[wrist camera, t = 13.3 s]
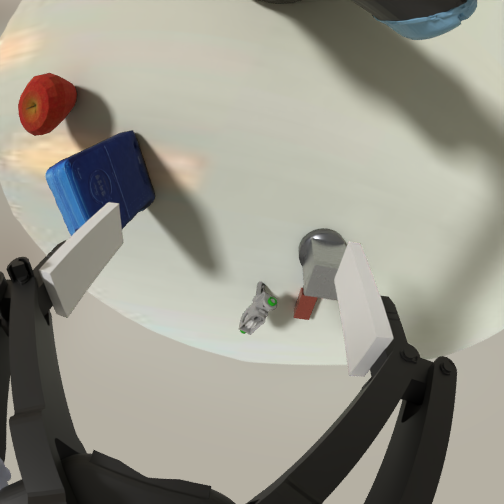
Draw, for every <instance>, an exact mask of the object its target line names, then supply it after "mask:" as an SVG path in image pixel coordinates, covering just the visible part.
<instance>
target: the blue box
mask: <svg viewBox="0 0 504 504" xmlns="http://www.w3.org/2000/svg"><path fill="white" fill-rule="evenodd" d="M46 180H47V183H48V185H49V188H50V189H51V191H52V193H53V195H54V197H55V200H56V203H57V206H58V208H59V210H60V212H61V214H62V216H63V219H64V222H65V224H66V225H67V228H68V231H69V233H70V234H71V236H72V235H73V234H74V233H75V232H76V231H77V230H78V229H79V228H80V227H81V226H82V225H83V224H85V223H86V222H87V221H88V220H89V219H90V218H91V217H92V216H93V215H94V214H96V213H97V212H98V211H99V210H100V209H101V208H102V207H104V206H105V205H106V204H107V203H108V202H111V203H119V209H120V218H121V227H122V229H123V228H124V227H125V226H126V224H127V223H128V222H129V221H131V220H132V219H133V218H134V217H135V216H136V214H137V213H138V212H140V211H143V210H145V209H146V208H147V207H148V206H150V205H151V203H152V202H153V201H154V199H155V193H154V190H153V187H152V184H151V181H150V178H149V175H148V171H147V168H146V165H145V162H144V159H143V156H142V153H141V150H140V146H139V143H138V141H137V139H136V137H135V134H134V132H133V130H132V131H127V132H122V133H119V134H117V135H115V136H112V137H110V138H108V139H106V140H104V141H102V142H100V143H98V144H96V145H94V146H92V147H89V148H87V149H85V150H83V151H81V152H79V153H77V154H74V155H72V156H70V157H68V158H65V159H63V160H61V161H59V162H58V163H56V164H55V165H53V166H52V167H50V168H49V169H48V170H47V172H46Z"/></svg>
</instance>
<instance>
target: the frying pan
mask: <svg viewBox="0 0 504 504" xmlns="http://www.w3.org/2000/svg"><path fill="white" fill-rule="evenodd" d="M311 238H316V239H322V240H327V241H332V242H338V243H343V244H345V242H344V239H343V238H342V236H341V235H340V234H339V233H337V232H336V231H333V230H330V229H317V230H314V231H311V232H310V233H308V234H307V235H306V236H305V237H304V238H303V239H302V240H301V242H300V245H299V260H300V263H301V265H302V266H303V263H304V260H305V257H306V253H307V250H308V246H309V243H310V239H311ZM317 298H318V297H311V296H305V295H304V285H303V288H301V290H300V293H299V296H298V299H297V302H296V305H295V308H294V318H299V319H306V320H309V318H310V315H311V313H312V310H313V308H314V305H315V303H316V300H317Z"/></svg>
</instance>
